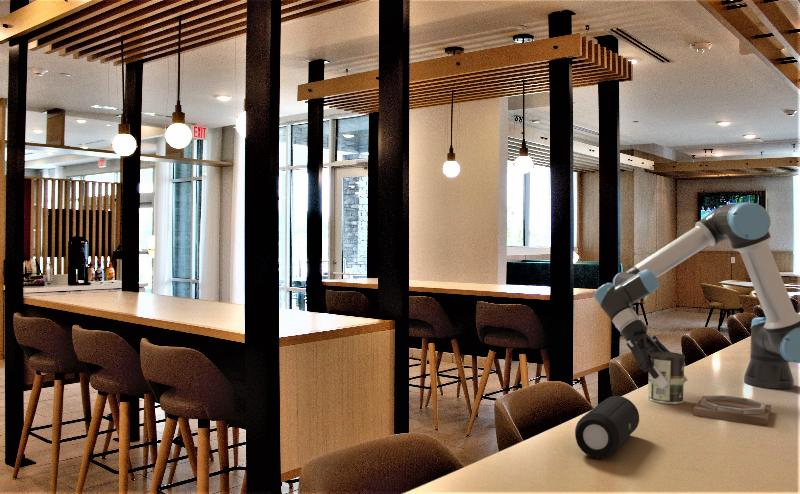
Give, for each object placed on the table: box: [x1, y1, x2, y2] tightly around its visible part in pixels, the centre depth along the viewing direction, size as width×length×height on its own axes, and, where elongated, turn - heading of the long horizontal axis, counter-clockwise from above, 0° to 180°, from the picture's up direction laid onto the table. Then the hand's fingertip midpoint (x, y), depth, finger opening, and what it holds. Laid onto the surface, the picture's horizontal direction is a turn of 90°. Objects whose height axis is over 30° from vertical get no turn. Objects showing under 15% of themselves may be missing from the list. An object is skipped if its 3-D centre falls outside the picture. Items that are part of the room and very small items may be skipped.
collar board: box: [692, 394, 772, 427], centre depth 195 cm, size 18×18×3 cm
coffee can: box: [647, 351, 686, 405], centre depth 209 cm, size 10×10×14 cm
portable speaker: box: [574, 395, 640, 459], centre depth 162 cm, size 26×10×10 cm, turn 150°
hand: (675, 384), depth 207 cm, fingers closed on coffee can, 10 cm apart
